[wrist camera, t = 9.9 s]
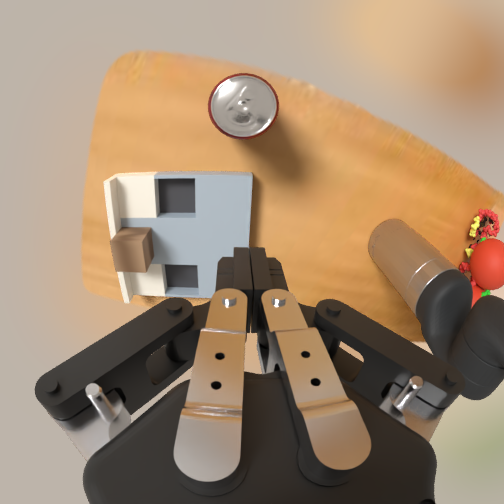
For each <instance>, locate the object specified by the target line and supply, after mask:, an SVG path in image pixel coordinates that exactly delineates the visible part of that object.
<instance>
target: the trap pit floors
mask: <svg viewBox="0 0 504 504" xmlns="http://www.w3.org/2000/svg"><path fill="white" fill-rule="evenodd" d="M158 188H159V206H160V213H196V210H195V178H165V179H158ZM165 272H166V280H167V287H186V288H199V287H198V268H197V265H172V264H165Z"/></svg>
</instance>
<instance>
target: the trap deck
mask: <svg viewBox="0 0 504 504" xmlns="http://www.w3.org/2000/svg"><path fill="white" fill-rule="evenodd" d="M112 177H116V179H117V191H118V201H119V210H120V218H121V226H122V227H151V231H152V241H153V250H154V258H153V260H152V262H151V264H150V266H149V268H148V270H147V272H146V273H137V272H129V275H130V280H131V285H132V290H133V294H134V295H148V296H168V297H192V298H212V295H213V294H214V293H215V287H216V276H217V265H218V261H219V260H220V259H221V258H222V257H233V249H234V247H248V248H249V232H250V214H251V197H252V180H253V175H252V172H226V171H166V172H137V173H119V174H115V175H114V176H112ZM165 178H195V210H196V213H160V206H159V188H158V179H165ZM165 264H172V265H197V268H198V287H199V288H186V287H167V280H166V272H165Z"/></svg>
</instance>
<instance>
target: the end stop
mask: <svg viewBox="0 0 504 504" xmlns="http://www.w3.org/2000/svg"><path fill="white" fill-rule="evenodd" d="M104 191H105V200H106V208H107V215H108V222H109V229H110V235H111V239H112V238H113V237H114V236H115V235H116V233H117V232H118V231H119V230H120V229H121V227H122V226H121V218H120V210H119V201H118V191H117V179H116V177H110V178H109V179H107V180H106V181H104ZM117 273H118V277H119V282H120V286H121V291H122V295H123V299H124V303H130V302H131V299H132V297H133V295H134V294H133V290H132V285H131V280H130V275H129V272H117Z"/></svg>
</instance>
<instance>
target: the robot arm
mask: <svg viewBox="0 0 504 504" xmlns="http://www.w3.org/2000/svg"><path fill="white" fill-rule="evenodd" d="M368 249H369V254H370V256H371V258H372V259H373V260H374V262H375V263H376V264H377V265H378V267H379V268H380V269H381V271H382V272H383V273H384V274H385V276H386V277H387V278H388V279H389V281H390V282H391V283H392V285H393V286H394V287H395V289H396V290H397V291H398V293H399V294H400V295H401V297H402V298H403V299H404V301H405V302H406V303H407V305H408V306H409V307H410V309H411V310H412V311H413V313H414V314H415V316H416V317H417V319H418V320H419V321H420V323H421V330H422V334H423V336H424V339H425V341H426V342H427V344H428V346H429V348H430V349H431V351H432V353H433V355H432V354H430V353H429V352H427V351H425V350H424V349H422V348H420V347H418V346H417V345H415V344H413V343H412V342H410V341H408V340H406V339H405V338H403V337H401V336H399V335H398V334H396V333H394V332H393V331H391V330H389V329H387V328H386V327H384V326H382V325H380V324H379V323H377V322H375V321H374V320H372V319H370V318H368V317H367V316H365V315H363V314H361V313H360V312H358V311H356V310H354V309H353V308H351V307H349V306H348V305H346V304H344V303H342V302H340V301H338V300H333V299H326V300H322V301H320V302H319V303H318V304H317V306H316V307H311V306H306V305H302V304H300V303H298V302H297V300H296V298H295V296H294V295H293V294H292V293H290V292H289V290H288V287H287V283H286V280H285V276H284V273H283V271H282V266H281V263H280V262H279V261H278V260H277V259H276V258H267V257H266V253H265V248H259V247H249V248H248V247H234V249H233V257H222V258H221V259H220V260H219V261H218V265H217V276H216V287H215V293H214V294H213V295H212V298H211V300H210V301H209V302H207V303H205V304H202V305H198V306H192V304H191V303H190V302H189V301H188V300H186V299H183V298H169V299H166V300H164V301H162V302H161V303H159V304H157V305H156V306H154V307H152V308H151V309H149V310H147V311H146V312H145V313H143V314H141V315H139V316H138V317H136V318H134V319H133V320H131V321H130V322H128V323H126V324H125V325H123V326H121V327H120V328H118V329H117V330H115V331H113V332H112V333H110V334H108V335H107V336H105V337H104V338H102V339H100V340H99V341H97V342H96V343H94V344H92V345H91V346H89V347H87V348H86V349H84V350H83V351H81V352H79V353H78V354H76V355H75V356H73V357H71V358H70V359H68V360H66V361H65V362H63V363H62V364H60V365H58V366H57V367H55V368H53V369H52V370H50V371H49V372H47V373H45V374H44V375H43V376H41V377H40V379H39V380H38V381H37V383H36V386H35V395H36V397H37V399H38V400H39V402H40V403H41V404H42V405H43V407H44V408H45V409H46V410H47V412H48V414H49V415H50V416H51V417H52V418H53V419H54V420H55V422H56V423H57V424H58V425H59V426H60V427H61V428H62V429H63V430H64V431H65V432H66V434H67V435H68V436H69V438H70V439H71V441H72V442H73V443H74V445H75V446H76V448H77V449H78V450H79V452H80V453H81V454H82V456H83V457H84V458H85V460H86V461H87V464H86V466H85V469H84V473H83V486H84V490H85V493H86V496H87V498H88V501H89V503H90V504H435V499H434V482H435V475H436V468H437V460H436V455H435V452H434V450H433V448H432V446H431V445H430V443H429V441H430V439H431V437H432V435H433V433H434V431H435V429H436V427H437V425H438V423H439V421H440V419H441V417H442V415H443V412H444V411H445V410H446V409H447V408H448V407H449V406H450V405H451V404H452V403H453V402H454V400H455V399H456V398H457V397H458V396H459V395H460V394H461V395H462V396H464V397H466V398H468V399H471V400H481V399H484V398H486V397H487V396H489V395H490V394H491V393H492V392H493V391H494V390H495V389H496V388H497V387H498V385H499V384H500V383H501V382H502V381H503V379H504V300H503V299H501V298H499V297H496V296H493V295H486V296H482V297H481V298H479V299H478V300H477V301H476V302H475V304H474V305H473V307H472V299H473V288H472V285H471V283H470V281H469V279H468V278H467V277H466V276H465V275H464V274H463V273H462V272H461V271H460V270H459V269H457V268H456V267H455V266H454V265H453V264H452V263H451V262H450V261H449V260H448V259H446V258H445V257H444V256H443V255H442V254H441V253H440V252H439V251H438V250H437V249H436V248H435V247H434V246H433V245H432V244H430V243H429V242H428V241H427V240H426V239H425V238H423V237H422V236H421V235H420V234H419V233H417V232H416V231H415V230H414V229H412V228H410V227H409V226H408V225H407V224H405V223H404V222H403V221H401V220H398V219H390V220H387V221H385V222H383V223H381V224H380V225H379V226H378V227H377V228H376V229H375V230H374V232H373V233H372V235H371V237H370V240H369V245H368ZM250 323H251V333H257V336H258V339H257V350H258V355H259V360H260V365H261V370H262V374H255V373H250V372H244V360H245V343H246V339H247V333H250ZM341 341H342V342H343V343H345V344H347V345H348V346H350V347H351V348H353V349H354V350H356V351H358V352H359V353H360V354H361V355H362V356H363V358H364V363H363V362H362V361H360V360H359V359H357V358H355V357H354V356H352V355H351V354H349V353H348V352H346V351H345V350H343V349H342V348H340V347H339V345H340V342H341ZM162 346H163V347H162ZM158 349H159V350H158ZM155 351H156V352H155ZM151 354H152V355H151ZM192 366H193V369H192V374H191V379H189V380H186V381H184V382H182V383H180V384H178V385H177V386H175V387H174V388H172V389H171V390H170V391H169V392H168V393H167V394H165V395H164V396H163V397H162V398H161V399H160V400H158V402H156V403H155V404H154V405H153V406H152V407H150V408H149V409H148V410H147V411H146V412H145V413H143V414H142V415H141V416H140V417H138V418H137V419H136V420H135V421H134V422H133V423H131V417H130V415H132V414H133V413H134V412H136V411H137V410H138V409H139V408H141V407H142V406H143V405H145V404H146V403H147V402H149V401H150V400H151V399H152V398H154V397H155V396H156V395H157V394H158V393H160V392H161V391H162V390H164V389H165V388H166V387H167V386H169V385H170V384H171V383H172V382H174V381H175V380H176V379H177V378H179V377H180V376H181V375H182V374H183V373H185V372H186V371H187V370H188V369H190V368H191V367H192ZM130 423H131V424H130Z"/></svg>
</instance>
